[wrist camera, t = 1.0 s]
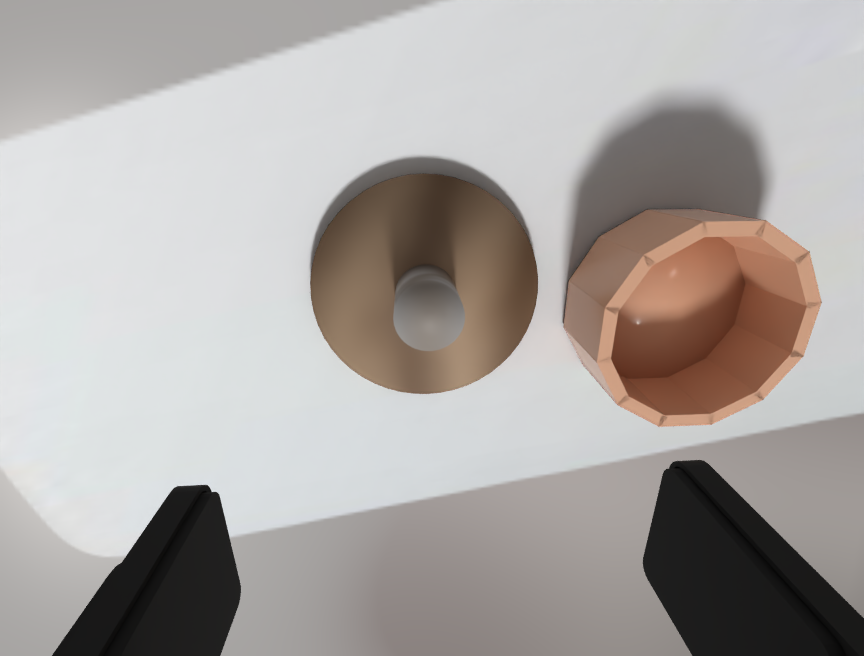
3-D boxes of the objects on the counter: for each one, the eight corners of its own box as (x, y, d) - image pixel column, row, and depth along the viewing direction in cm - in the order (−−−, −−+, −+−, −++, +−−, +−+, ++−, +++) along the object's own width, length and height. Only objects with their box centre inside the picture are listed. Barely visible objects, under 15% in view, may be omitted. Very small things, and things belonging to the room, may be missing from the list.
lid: (542, 172, 24) (575, 175, 19) (525, 382, 28) (548, 426, 24) (301, 174, 23) (275, 178, 18) (325, 389, 28) (308, 435, 23)
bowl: (766, 207, 25) (850, 219, 20) (720, 379, 29) (781, 422, 24) (576, 210, 24) (617, 222, 19) (556, 384, 28) (586, 429, 23)
